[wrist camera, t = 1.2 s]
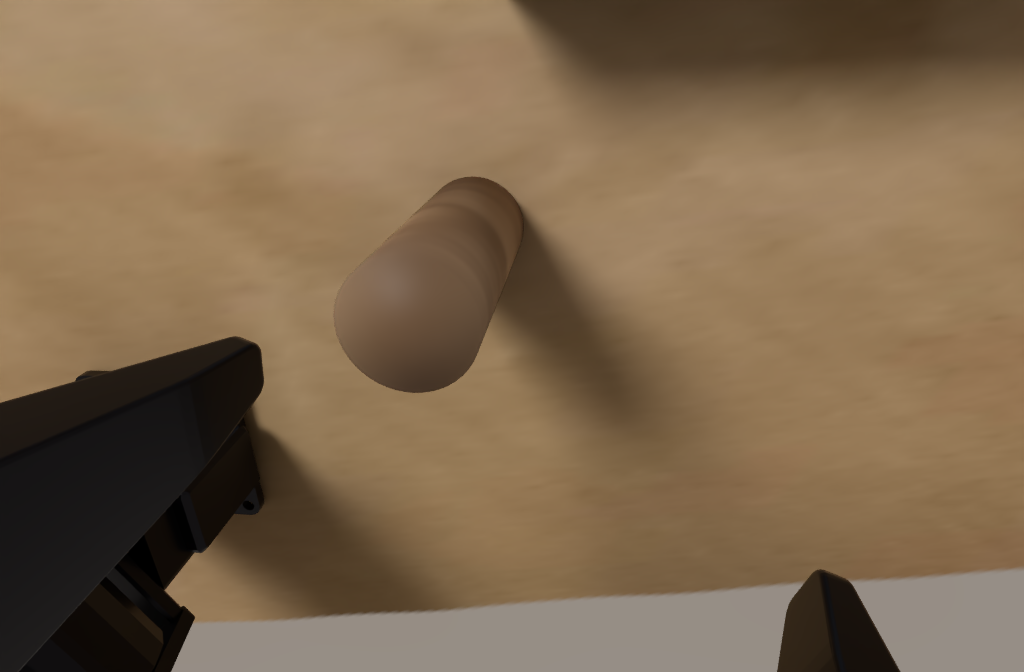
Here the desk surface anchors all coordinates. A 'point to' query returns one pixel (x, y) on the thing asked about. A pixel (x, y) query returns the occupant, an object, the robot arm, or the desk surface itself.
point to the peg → (431, 288)
